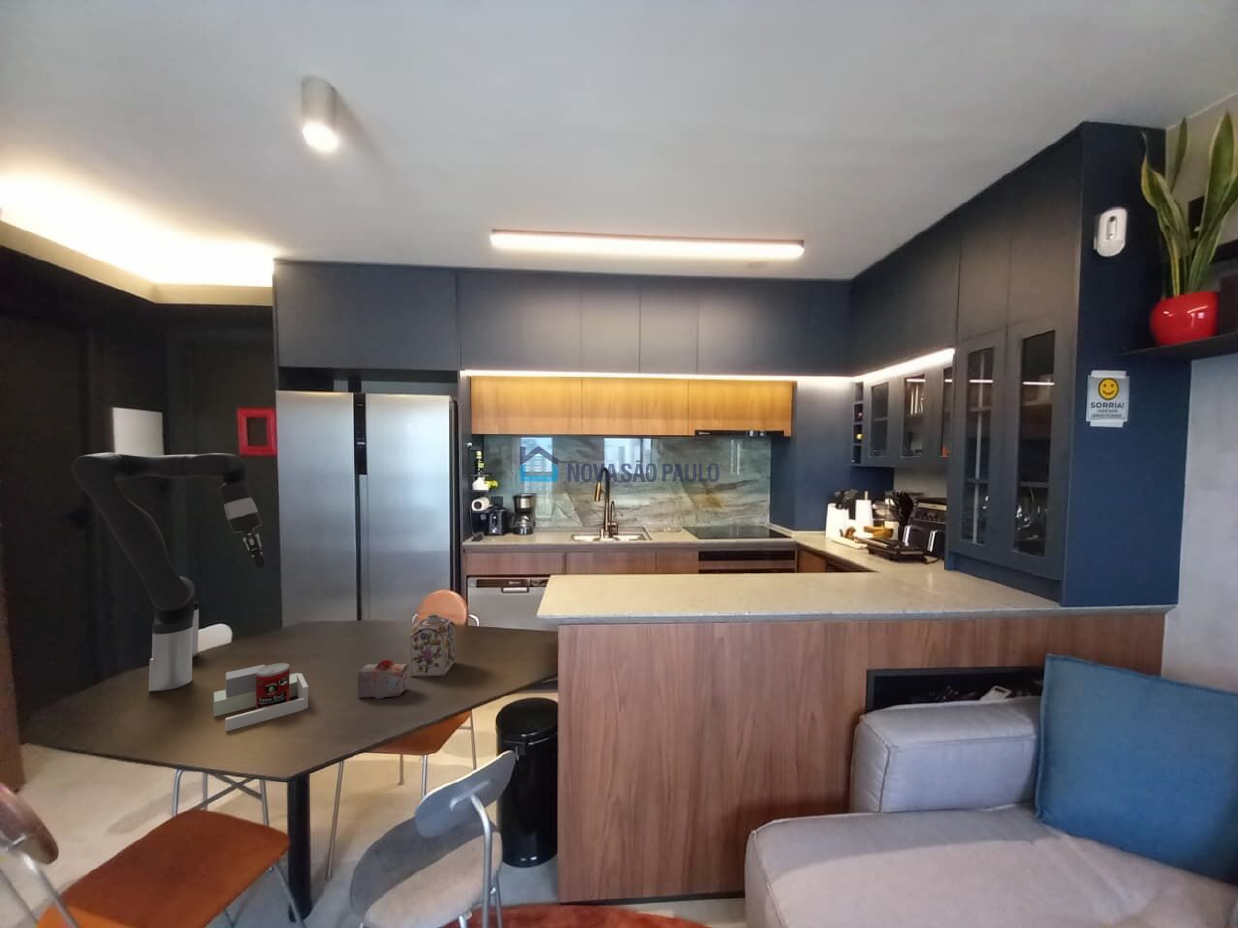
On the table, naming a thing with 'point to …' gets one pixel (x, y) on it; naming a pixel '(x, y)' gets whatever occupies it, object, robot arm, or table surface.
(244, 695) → the white open tray
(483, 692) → the table surface
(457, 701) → the table surface
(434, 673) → the decorative jar
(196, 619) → the travel mug
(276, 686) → the canned food
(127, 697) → the table surface
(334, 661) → the table surface
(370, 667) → the food item
